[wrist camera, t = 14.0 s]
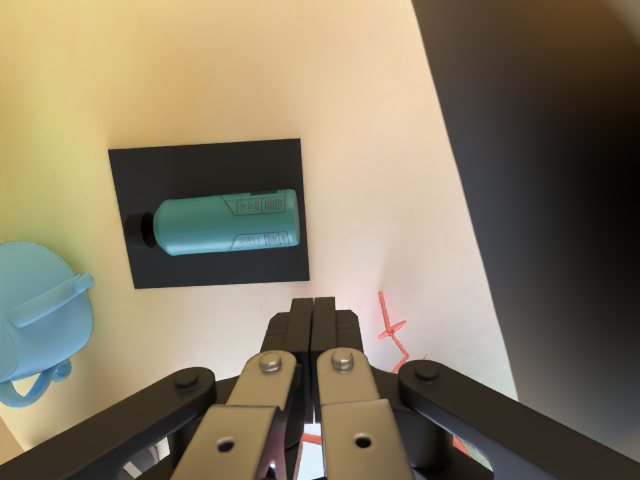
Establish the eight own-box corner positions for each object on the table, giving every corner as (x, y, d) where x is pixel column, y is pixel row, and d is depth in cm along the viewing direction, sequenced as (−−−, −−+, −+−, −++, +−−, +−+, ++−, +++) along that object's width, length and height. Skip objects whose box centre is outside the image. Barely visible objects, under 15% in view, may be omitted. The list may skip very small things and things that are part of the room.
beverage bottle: (305, 179, 38) (114, 194, 39) (309, 244, 38) (114, 257, 38) (310, 194, 45) (145, 206, 46) (313, 249, 44) (146, 261, 45)
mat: (136, 287, 48) (134, 289, 47) (109, 149, 43) (107, 149, 43) (309, 279, 47) (309, 280, 47) (300, 138, 43) (299, 138, 42)
